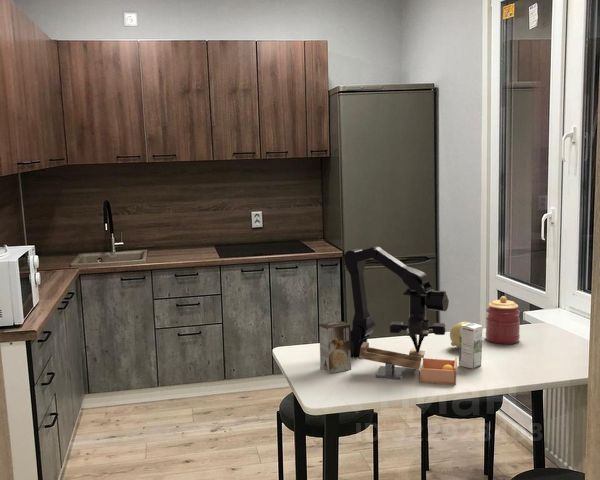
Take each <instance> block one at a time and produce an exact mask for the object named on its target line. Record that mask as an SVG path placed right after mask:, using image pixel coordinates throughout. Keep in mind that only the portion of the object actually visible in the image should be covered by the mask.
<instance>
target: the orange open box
mask: <svg viewBox="0 0 600 480" xmlns="http://www.w3.org/2000/svg"><path fill="white" fill-rule="evenodd" d="M444 365H451V366H452V367H453V368H454V370H442V368H443V366H444ZM457 366H458V357H454V360H453V359H442V358H441V359H440V358H439V359H438V358H425V357H424V358H422V365H421V368H419V370H420V371H419V372H420V373H419V374H420V375H419V378H420V379H419V382H420V383H427V384H441V385H442V384H443V385H444V384H445V385H455V386H456V385H457V384H456V383H457V375H458V374H457V373H458V372H457V369H458V368H457Z"/></svg>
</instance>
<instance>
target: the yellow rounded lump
mask: <svg viewBox="0 0 600 480" xmlns="http://www.w3.org/2000/svg"><path fill="white" fill-rule="evenodd" d="M467 323H470V322H468V321H460V322H457V323H456V324H454V325H453V326H452V327H451V328H450V331H449V338H450V341H451V342H450V345H451V347H457V348H459V338H460V326H461V325H464V324H467Z"/></svg>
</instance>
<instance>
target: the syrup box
mask: <svg viewBox="0 0 600 480" xmlns="http://www.w3.org/2000/svg"><path fill="white" fill-rule="evenodd" d="M483 327H484V326H483V325H481V324H478V323H475V322H474V323H473V322H469V323H467V324H464V325H461V326H460V338H459V347H458V366H460V367H463V368H468V369H472V370H473V369H476V368H478V367H480V366H481V365H482V355H483V353H482V349H483V329H484V328H483Z"/></svg>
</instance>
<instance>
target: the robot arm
mask: <svg viewBox="0 0 600 480" xmlns="http://www.w3.org/2000/svg"><path fill="white" fill-rule="evenodd" d="M370 259H373V260H374V261H376V262H377V263H379V264H381V265H382V266H383V267H384V268H386V269H387V270H389V271H390V272H392V273H393V274H395V275H396V276H397V277H399V278H400V280H401V281H402V283H403V284H404V285H405V286H407V289H406V290H405V291H404V292H403V293H402V295H404V296H408V298H409V299H408V312H409V313H408V320H407V323H408V324H404V321H397V320H396V321H395V320H394V321H392V322H391V324H390V325H389V333H392V334H399V333H400V332H401V331H406V336H407V337H410V339H411V341H412V343H413V345H414V349H416V352H419V350H420V349H421V346H422V343H423V341H424V339H425V337H429V332H432V333H433V334H434V335H436V336H445V334H446V324H445V323H443V322H433V324H432V325H430V320H429V319H427V309H428V310H429V311H437V312H438V311H439V312H447V310H448V309H449V304H450V303H449V297H448V295H447V291H446V290H435V288H434V286H433V284H431V283H430V281H429V278H428V275H427V274H426V272H424V271H422V270H419V269H418V268H414V267H410V266H408V265H406V264H405V263H403V262H402V261H400V260H399V259H397V258H396V257H394V256H393V255H391V254H390V253H388V252H387V251H385V250H384V249H382V247H380V246H377V245H376V246H371V247H369V248H366V249H362V248H358V247H357V248H354V249H350V250H347V251H345V253H344V254H343V262H344V266H345V268H346V270H347V272H348V273H349V276H350V277H349V278H350V284H351V293H352V300H353V309H354V314H353V319H352V320H351V321H352V322H351V323H352V324H351V327H352V328H351V329H350V333H351V358H357V359H360V358H359V356H360V348H361V345H362V344H363V342H367V343H368V346H367V347H370V343H369V342H368V338H370V336H371V334H372V333H374V329H375V327H376V323H375V316H374V315H373V314H372V315H371V314H370V313H369V310H368V301H367V295H366V288H365V287H366V285H365V278H364V271H365V268H366V265H367V264H366V263H367V260H370Z"/></svg>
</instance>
